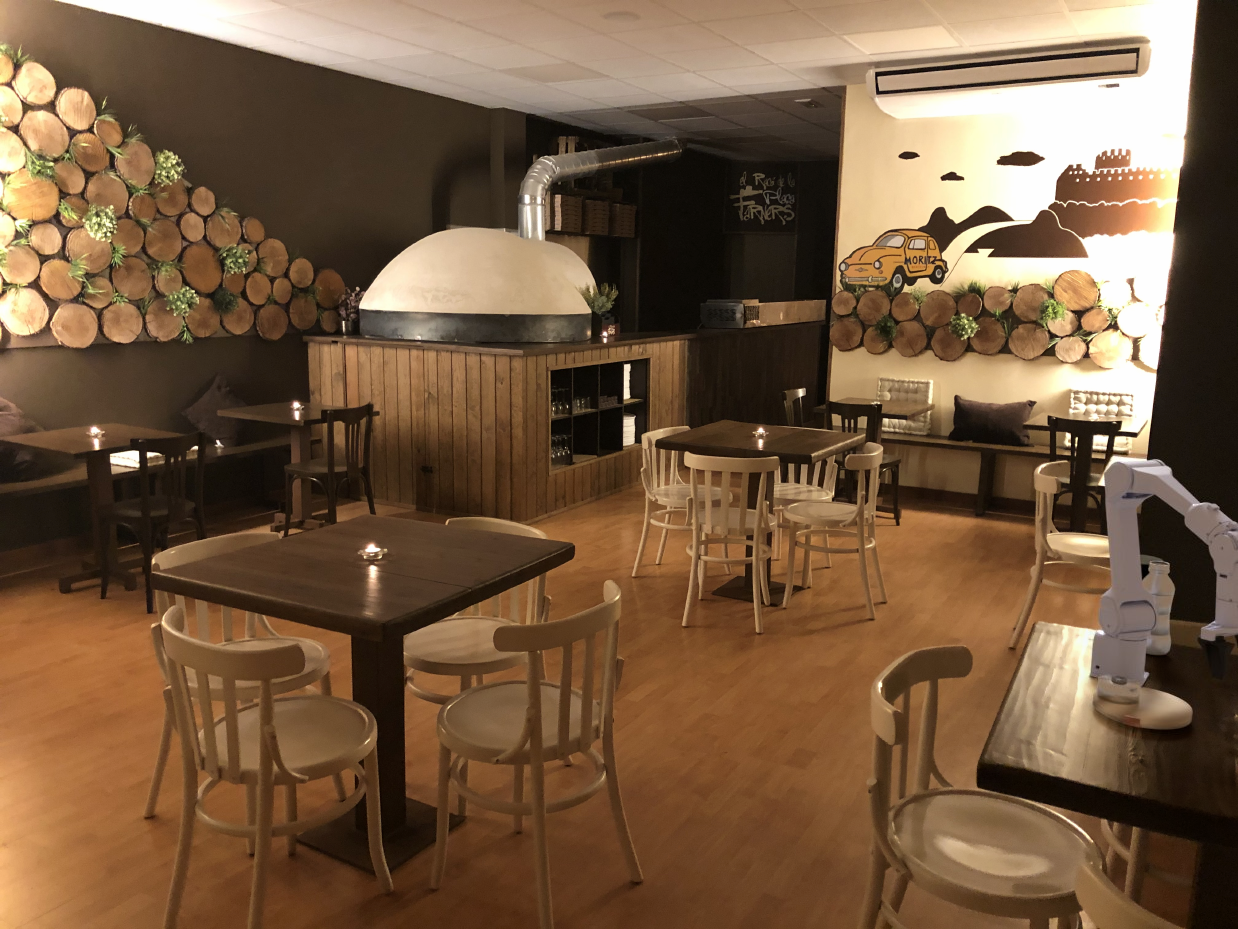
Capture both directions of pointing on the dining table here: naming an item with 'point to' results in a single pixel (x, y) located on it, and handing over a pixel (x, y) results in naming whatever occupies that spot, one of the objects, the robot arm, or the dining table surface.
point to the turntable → (1148, 710)
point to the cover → (1118, 689)
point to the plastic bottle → (1160, 606)
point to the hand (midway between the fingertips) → (1232, 675)
